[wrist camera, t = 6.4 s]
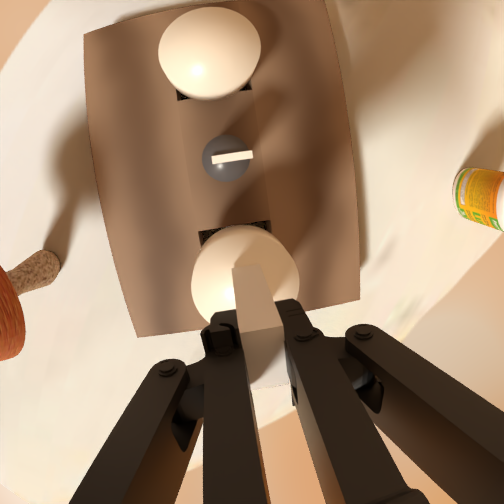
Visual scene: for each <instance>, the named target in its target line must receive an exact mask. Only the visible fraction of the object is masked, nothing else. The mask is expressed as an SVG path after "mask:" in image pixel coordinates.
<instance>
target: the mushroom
mask: <svg viewBox="0 0 504 504" xmlns="http://www.w3.org/2000/svg"><path fill="white" fill-rule="evenodd" d="M59 264H60V262H59V259H58V258H57V256H56V255H54V253H52V252H51V251H46V250H40V251H37V252H36V253H34V254H33V255H32V256H30V257H29V258H27V259H26V260H25V261H23V262H22V263H21V264H19V265H18V266H17V267H15V268H14V269H13V270H10V271H8V272H5V271H4V270H3V268H2V267H1V266H0V361H3V360H6V359H10V358H13V357H15V356H16V355H18V354H19V353H20V351H21V350H22V348H23V346H24V341H25V332H26V331H25V321H24V315H23V311H22V307H21V304H20V302H19V299H18V296H19V295H21V294H22V293H25V292H28V291H32V290H35V289H38V288H41V287H44V286H47V285H50V284H51V283H52V282H53V281H54V280H55V278H56V277H57V275H58V273H59V271H60V270H59V268H60V265H59Z"/></svg>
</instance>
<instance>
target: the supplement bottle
mask: <svg viewBox="0 0 504 504" xmlns="http://www.w3.org/2000/svg"><path fill="white" fill-rule="evenodd" d="M452 194H453V203H454V207H455V209H456V211H457V212H458V214H459V215H460V216H462V217H463V218H465V219H468V220H471V221H474V222H477V223H480V224H483V225H486V226H489V227H492V228H495V229H497V230H500V231H503V232H504V172H501V171H494V170H487V169H480V168H465V169H463V170H462V171H461V172H460V173H459V174H458V175H457V177H456V179H455V181H454V185H453V193H452Z"/></svg>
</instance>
